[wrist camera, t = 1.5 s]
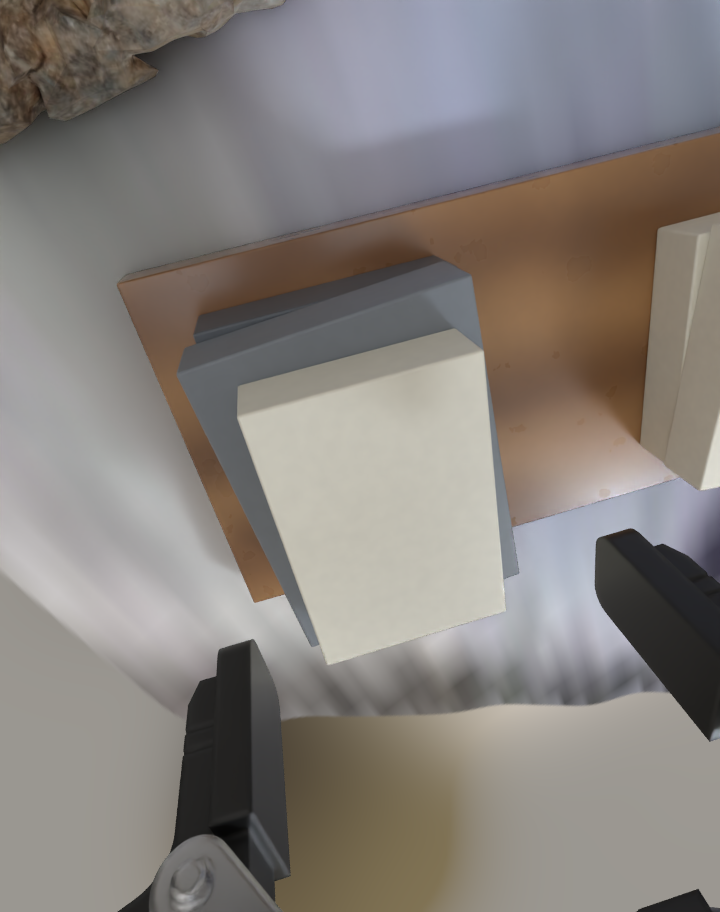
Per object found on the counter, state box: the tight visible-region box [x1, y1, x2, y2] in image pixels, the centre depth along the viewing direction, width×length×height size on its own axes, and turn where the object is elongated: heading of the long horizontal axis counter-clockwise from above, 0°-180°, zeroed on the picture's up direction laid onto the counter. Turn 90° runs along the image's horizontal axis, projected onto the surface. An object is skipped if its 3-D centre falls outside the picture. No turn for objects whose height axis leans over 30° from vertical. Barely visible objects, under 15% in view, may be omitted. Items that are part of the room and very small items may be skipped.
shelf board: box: [117, 127, 720, 603], centre depth 21 cm, size 14×28×2 cm, turn 102°
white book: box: [237, 328, 506, 665], centre depth 15 cm, size 9×6×2 cm, turn 12°
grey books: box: [177, 255, 519, 647], centre depth 18 cm, size 12×9×4 cm
